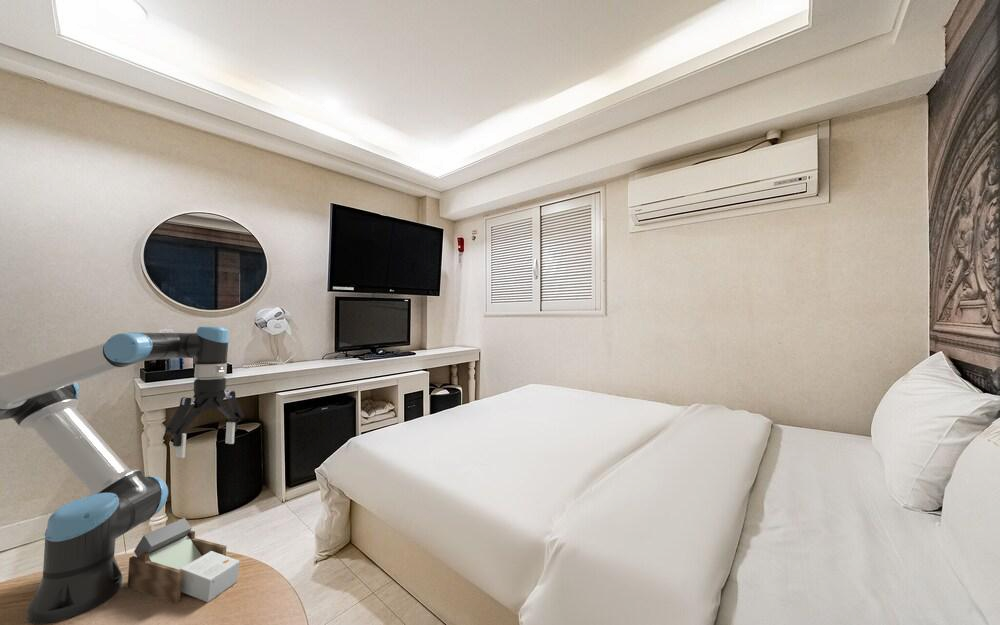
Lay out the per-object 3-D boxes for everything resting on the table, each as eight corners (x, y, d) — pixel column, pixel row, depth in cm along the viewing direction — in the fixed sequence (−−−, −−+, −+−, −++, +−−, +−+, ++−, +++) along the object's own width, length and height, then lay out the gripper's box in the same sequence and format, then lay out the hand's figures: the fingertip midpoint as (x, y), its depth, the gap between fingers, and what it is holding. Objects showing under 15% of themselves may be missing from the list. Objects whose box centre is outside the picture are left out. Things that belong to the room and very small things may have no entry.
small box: (176, 590, 91) (206, 603, 88) (179, 568, 91) (209, 580, 88) (209, 570, 98) (238, 582, 96) (211, 549, 99) (241, 560, 96)
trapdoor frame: (127, 587, 93) (129, 550, 94) (178, 560, 104) (180, 527, 105) (176, 603, 88) (178, 564, 88) (224, 573, 99) (226, 539, 99)
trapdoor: (133, 551, 95) (143, 535, 94) (175, 532, 104) (184, 517, 103) (167, 605, 90) (178, 588, 89) (207, 580, 99) (218, 565, 98)
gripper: (170, 383, 94) (165, 466, 93) (258, 374, 118) (255, 439, 117) (151, 382, 97) (146, 462, 95) (242, 373, 120) (238, 437, 119)
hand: (206, 450), depth 106 cm, fingers open, 13 cm apart
